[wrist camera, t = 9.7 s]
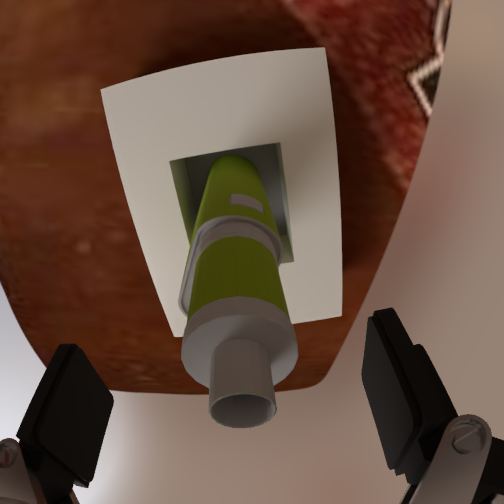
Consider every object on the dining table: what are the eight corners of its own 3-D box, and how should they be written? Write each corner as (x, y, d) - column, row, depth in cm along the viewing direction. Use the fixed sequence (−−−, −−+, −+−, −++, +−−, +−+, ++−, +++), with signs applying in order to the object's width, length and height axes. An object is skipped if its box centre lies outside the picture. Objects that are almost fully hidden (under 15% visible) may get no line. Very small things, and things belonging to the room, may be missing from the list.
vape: (264, 161, 24) (353, 369, 6) (240, 229, 27) (259, 476, 9) (217, 146, 23) (178, 338, 6) (196, 217, 26) (149, 461, 8)
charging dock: (128, 88, 22) (100, 89, 17) (308, 55, 21) (324, 47, 16) (183, 299, 31) (174, 337, 26) (328, 280, 30) (341, 315, 26)
